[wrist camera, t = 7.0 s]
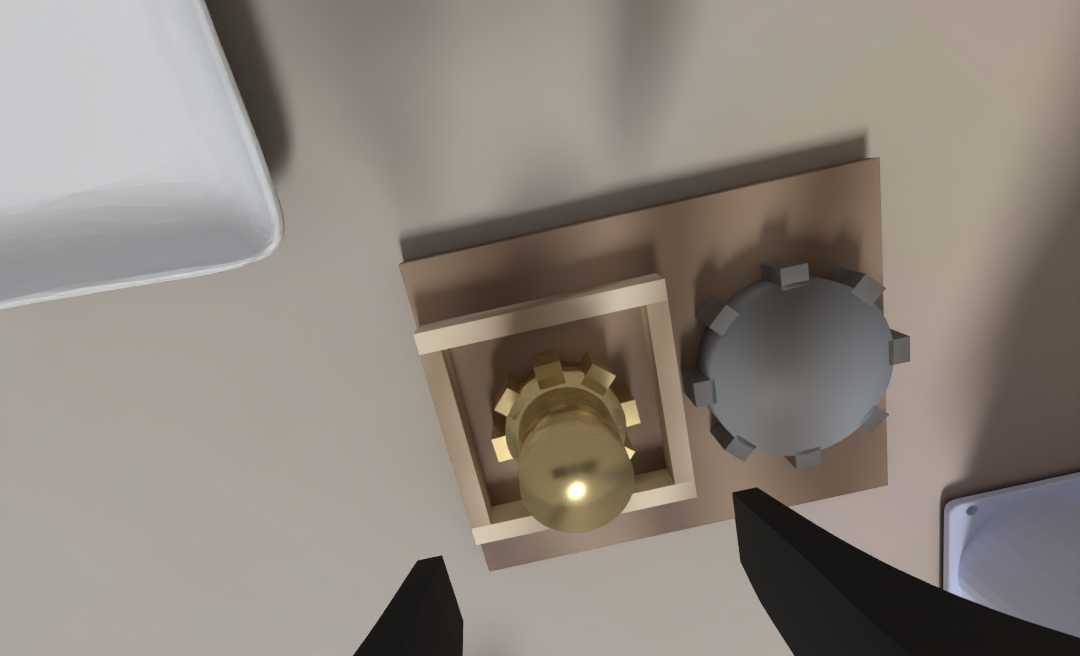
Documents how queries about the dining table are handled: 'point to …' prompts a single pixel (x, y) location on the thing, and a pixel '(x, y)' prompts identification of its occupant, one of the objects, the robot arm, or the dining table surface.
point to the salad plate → (123, 150)
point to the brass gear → (568, 440)
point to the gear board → (677, 350)
